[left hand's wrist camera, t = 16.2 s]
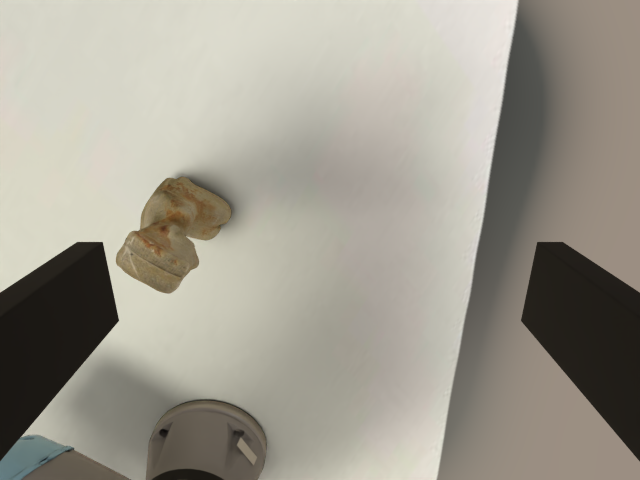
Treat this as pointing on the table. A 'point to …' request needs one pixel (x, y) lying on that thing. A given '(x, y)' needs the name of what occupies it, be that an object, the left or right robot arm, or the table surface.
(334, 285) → the table surface
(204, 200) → the sculpture
